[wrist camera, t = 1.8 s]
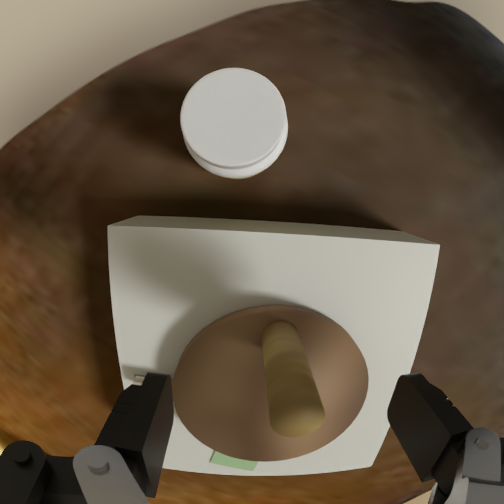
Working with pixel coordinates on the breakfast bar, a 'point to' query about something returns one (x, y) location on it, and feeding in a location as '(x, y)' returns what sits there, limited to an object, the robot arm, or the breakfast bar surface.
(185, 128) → the supplement bottle
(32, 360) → the breakfast bar surface
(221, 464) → the box
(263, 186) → the breakfast bar surface
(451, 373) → the breakfast bar surface
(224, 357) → the tuning dial
